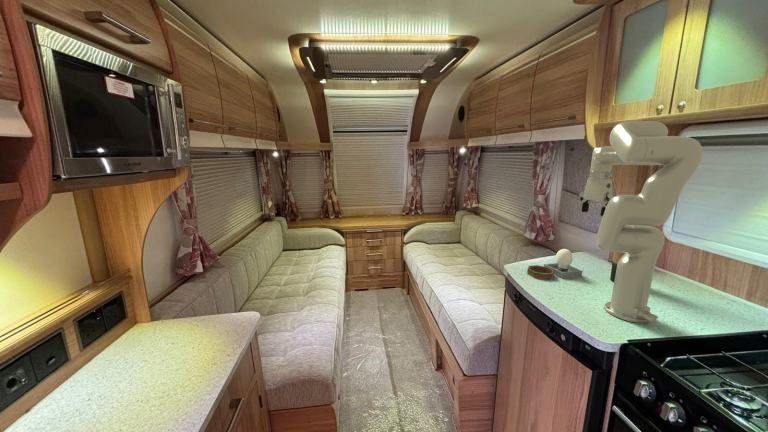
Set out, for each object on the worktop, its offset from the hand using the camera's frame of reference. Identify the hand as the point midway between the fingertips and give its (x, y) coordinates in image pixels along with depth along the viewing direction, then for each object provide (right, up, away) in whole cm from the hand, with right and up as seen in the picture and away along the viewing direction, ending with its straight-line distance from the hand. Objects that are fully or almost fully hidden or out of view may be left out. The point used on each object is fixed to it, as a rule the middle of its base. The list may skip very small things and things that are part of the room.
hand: (593, 213), depth 134 cm
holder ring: (-23, -28, +3) cm, 37 cm away
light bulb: (-11, -27, +5) cm, 30 cm away
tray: (-11, -28, +5) cm, 30 cm away
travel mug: (+8, -30, -4) cm, 32 cm away
